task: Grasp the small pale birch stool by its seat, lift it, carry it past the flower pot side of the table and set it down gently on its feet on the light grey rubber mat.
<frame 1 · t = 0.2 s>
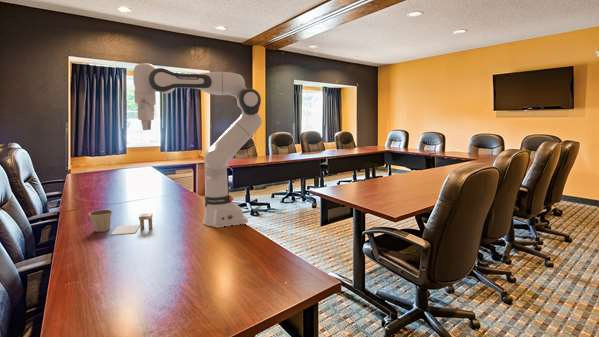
hand: (147, 130, 153), 47 cm above the table, fingers open, 8 cm apart
mat: (126, 230, 155), on the table
flower pot: (102, 230, 155), on the table
stool: (146, 229, 156), on the table
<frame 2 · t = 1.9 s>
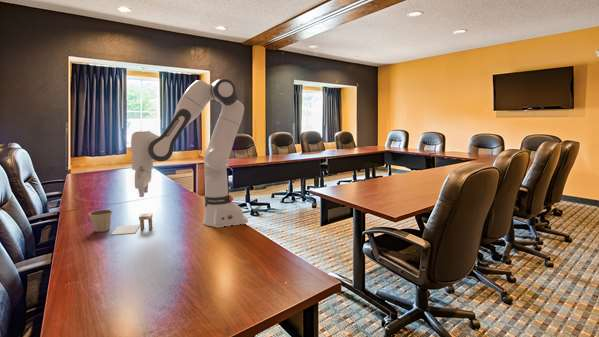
hand: (143, 194, 154), 17 cm above the table, fingers open, 8 cm apart
nothing on the table moved.
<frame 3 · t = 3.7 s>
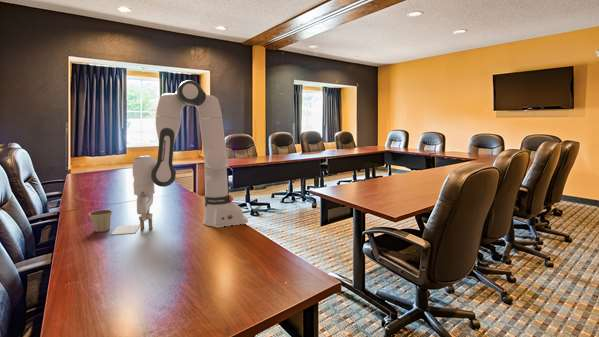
hand: (146, 218, 156), 5 cm above the table, fingers closed on stool, 5 cm apart
stool: (146, 229, 156), on the table, touching gripper
everything else where it was.
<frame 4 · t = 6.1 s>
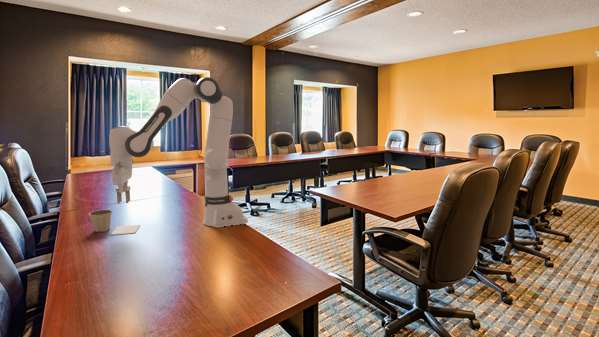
hand: (123, 191, 152), 19 cm above the table, fingers closed on stool, 5 cm apart
stool: (123, 202, 153), point 14 cm above the table, touching gripper
everything else where it was.
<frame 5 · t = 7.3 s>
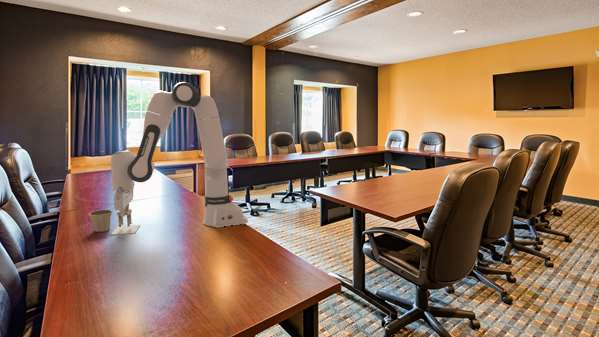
hand: (124, 214, 154), 8 cm above the table, fingers closed on stool, 5 cm apart
stool: (125, 225, 155), point 2 cm above the table, touching gripper
everything else where it was.
when the fingers open (6 cm above the table, at t = 8.3 s): stool stays where it is, resting on mat.
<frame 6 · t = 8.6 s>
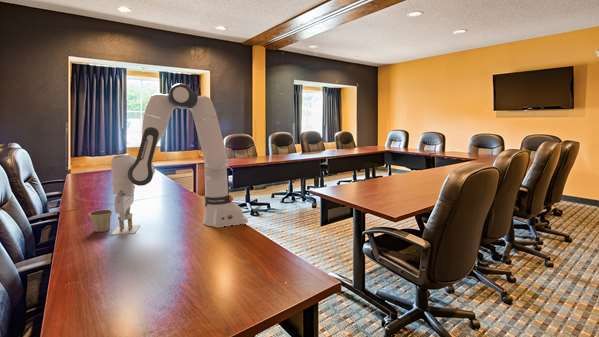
hand: (125, 217, 154), 6 cm above the table, fingers open, 7 cm apart
stool: (126, 229, 155), resting on mat
everything else where it was.
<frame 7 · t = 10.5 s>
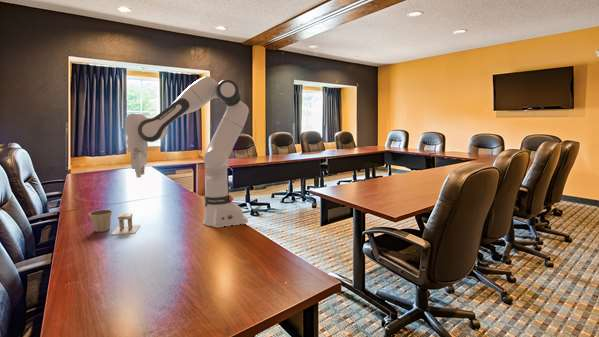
hand: (140, 175, 159), 25 cm above the table, fingers open, 8 cm apart
nothing on the table moved.
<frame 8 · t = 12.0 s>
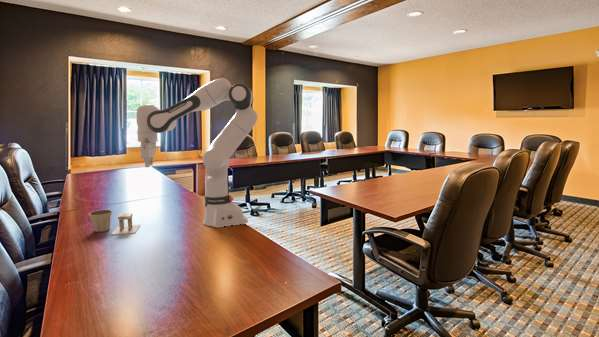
hand: (149, 165, 163), 29 cm above the table, fingers open, 8 cm apart
nothing on the table moved.
at the end: stool inside the target area on the mat (0.0 cm from its centre), point 0.4 cm above the mat's base; stool tilted 0°; the gripper is holding nothing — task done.
